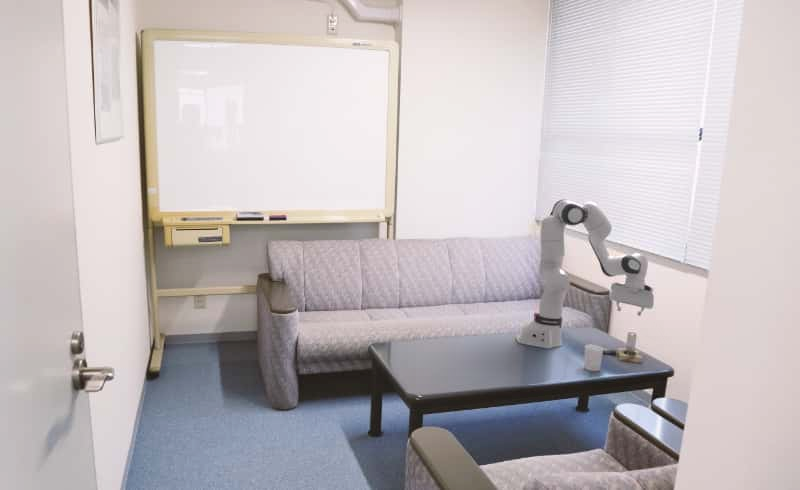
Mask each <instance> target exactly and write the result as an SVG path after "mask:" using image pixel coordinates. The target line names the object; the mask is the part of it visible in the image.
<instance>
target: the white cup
mask: <svg viewBox="0 0 800 490" xmlns="http://www.w3.org/2000/svg"><path fill="white" fill-rule="evenodd" d="M603 349H604V347H602V346H600V345H598V344H591V343H589V344H586V345H584V355H583V356H584V357H583V358H584V365H583V369H585V370H587V371H590V372H599V371H600V369H601V366H602V360H603V355H604V354H603Z"/></svg>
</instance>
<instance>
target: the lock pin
mask: <svg viewBox="0 0 800 490" xmlns="http://www.w3.org/2000/svg"><path fill="white" fill-rule="evenodd" d="M603 355H610V356H611V355H612V356H617V350H616V349H608V348H603Z"/></svg>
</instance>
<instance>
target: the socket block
mask: <svg viewBox="0 0 800 490" xmlns="http://www.w3.org/2000/svg"><path fill="white" fill-rule="evenodd" d="M625 351H626V348H620V347H617V350H616V355H617V358H618V360H619V361H625V362H632V363H637V364H638V363H639V364H642V363H643V356H642V353H641V351H640V350H636V349H635V352H634V355H628V354H625Z"/></svg>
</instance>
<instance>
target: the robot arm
mask: <svg viewBox="0 0 800 490" xmlns="http://www.w3.org/2000/svg"><path fill="white" fill-rule="evenodd" d="M580 224H582V225H583V226H584V228H585V230H586V232H587V233H588V242H589V244H590V246H591V248H592V251H593V252H594V254H595V256H596V258H597V260H598V262H599V265H600V270H601V271H602V273H603V274H604V275H605V276H606V277H609V278H610V277H616V276H624V275H625V276H626V277H625V282H624V283H619V282H613V283H612V284H611V285H610V286H611V287H610V290H611V292H610V294H609V300H610V301H613V302H616V303H615V305H616V307H617V309H616V311H617V312H621V310H622V307H621V306H620V303H622V304H626V305H631V306H635V307H639V308H640V311H637V314H636V316H638V317H640V316H641V315H642V313H643V311H644V310H645V309H649V310H651V309H653V308H654V300H655V297H654V288H653V287H651V286H650V285H648V284H646V282H645V281H646V280H645V279H646V275H647V271H648V266H649V265H648V263H649V261H648V258H647V256H645V255H644V254H642V253H637V252H635V253H633V254H623V255H617V256H616V255H615V256H613V255H611V254H610V253H609V251H608V249H607V247H606V246H605V243H604V240H606V239H607V237H609V236H610V234H611V232H612V224H611V222H610V219H609V218H608V217H607V216H606V214H605V213H604V211H603V210H602V209H601V207H599V206H598V205H597V204H596V203H595V202H592V201H588V202H584V203H583V204H578V203H577V202H575V201H573V200H568V199H559V200H558V201H556V202H555V203H554V205H553V206H552V211H551V212H550V215H549V216H546V217H544V218H543V219H542V221H541V227H540V261H539V270H538V277H539V279H540V282H541V283H543V285H544V287H543V288H544V289H543V291H542V292H543V293H542V294H541V295H542V296H541V297H540V299H539V309H538V312H537V311H536V312H533V317H534V319H533V321H530V322H529V323H527V324H525V325H524V326H523V327H522V329H521V332H520V333H518V334H517V335H516V342H517V343H518V344H523V345H527V346H532V347H538V348H543V349H549V350H550V349H552V348H558V347H561V346H562V345H563V340H562V330H561V329H562V327H563V307H564V306H563V305H564V300H565V296H566V294H567V290H568V289H570V286H571V279H570V276H569V275H568V273H567V272H566V271H564V270H563V259H564V256H565V253H566V252H565V235H564V232H565V227H566V226H567V225H568V226H578V225H580Z"/></svg>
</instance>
